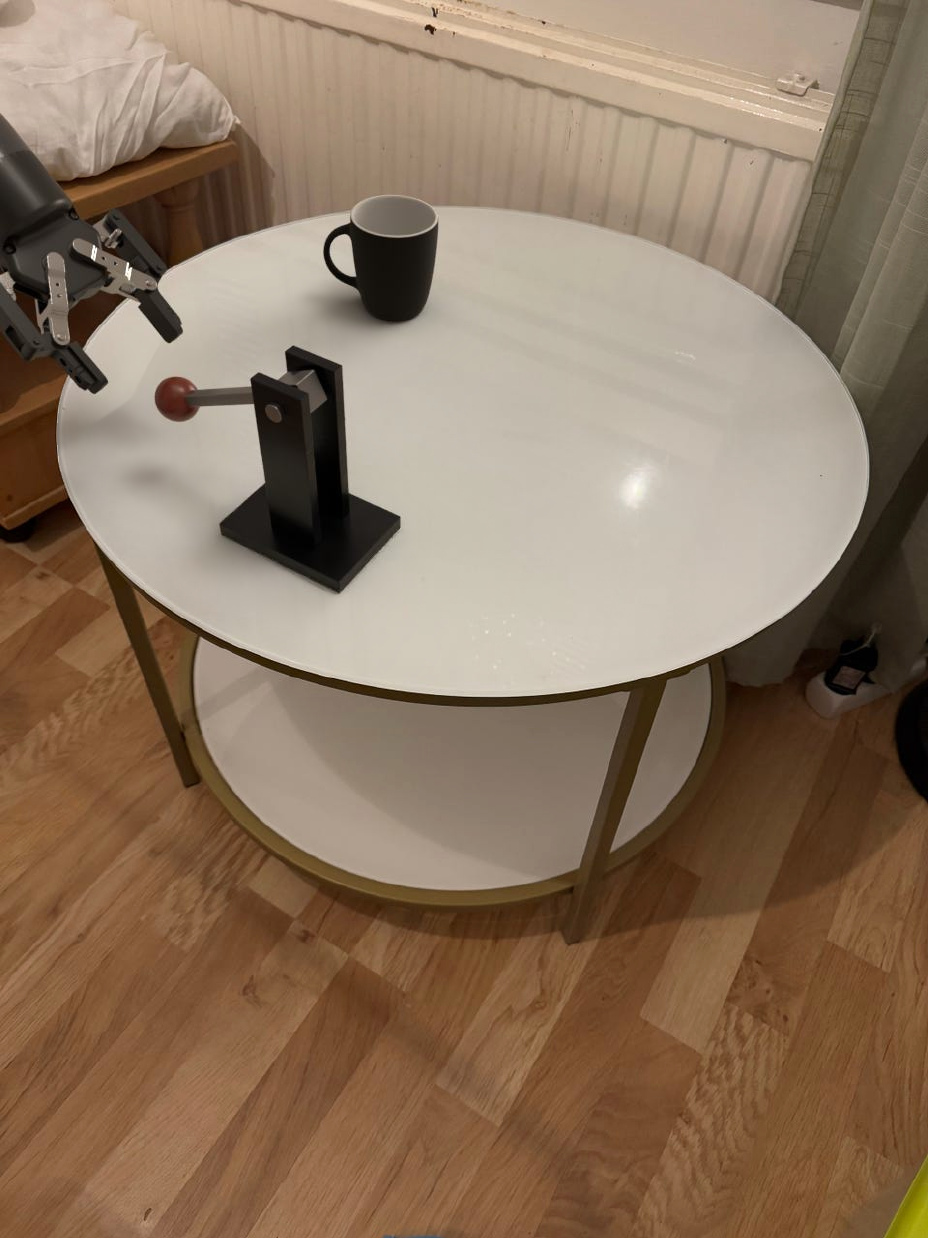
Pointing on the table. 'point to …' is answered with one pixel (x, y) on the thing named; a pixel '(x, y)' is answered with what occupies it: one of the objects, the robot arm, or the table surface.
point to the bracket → (307, 483)
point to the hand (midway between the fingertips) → (140, 362)
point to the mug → (390, 254)
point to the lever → (224, 395)
